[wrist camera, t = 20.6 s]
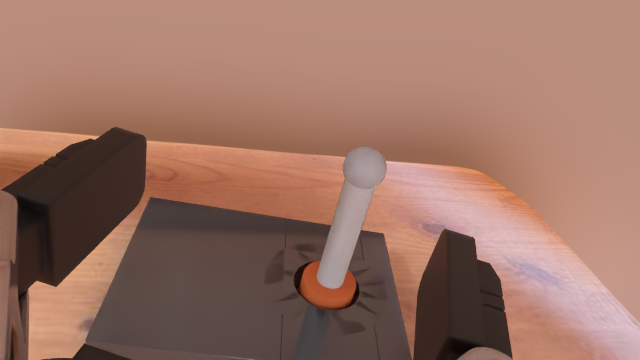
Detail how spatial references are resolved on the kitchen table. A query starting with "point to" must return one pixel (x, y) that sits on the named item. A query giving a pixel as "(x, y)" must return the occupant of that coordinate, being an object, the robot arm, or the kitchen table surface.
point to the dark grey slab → (242, 292)
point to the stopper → (344, 233)
